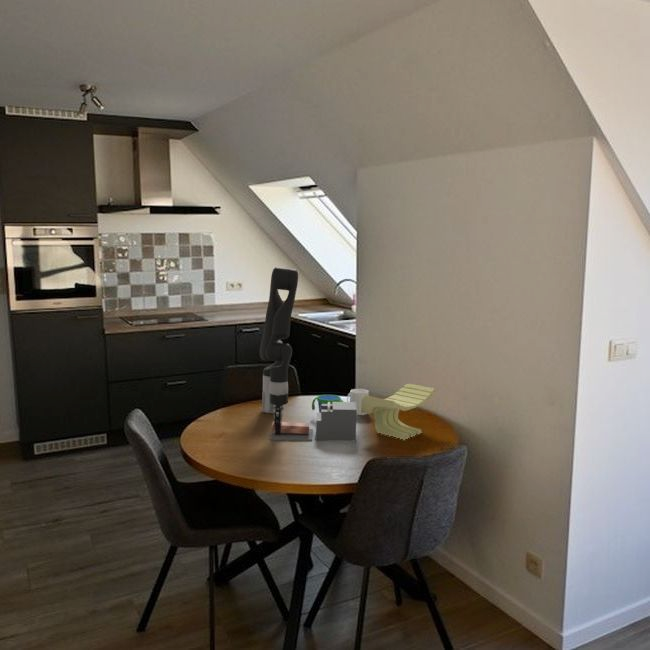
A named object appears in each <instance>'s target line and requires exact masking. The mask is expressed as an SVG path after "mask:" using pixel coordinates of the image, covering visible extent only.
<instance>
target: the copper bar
mask: <svg viewBox="0 0 650 650" xmlns="http://www.w3.org/2000/svg"><path fill="white" fill-rule="evenodd" d="M271 425H272V426H271V432H275V425H274V421H272V424H271ZM309 429H310V423H309V422H292V421H291V422H289V421H282V422H281V433H301V434H309Z"/></svg>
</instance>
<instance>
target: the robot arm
mask: <svg viewBox="0 0 650 650" xmlns="http://www.w3.org/2000/svg"><path fill="white" fill-rule="evenodd" d="M270 277H271V278H270V284H269V285H270V286H269V287H270V289H269V296H268V297H269V298H268V303H267V308H266V313H265V320H264V327H263V333H262V338H261V341H260V345H259V346H260V347H259V358H260V359H261V360H262V361H268V362H269V361H270V362H271V361H274V363H272V364H271V365H269V366H266V367H264V368H263V370H262V393H261V395H262V396H261V397H262V398H261V401H262V402H261V403H262V407H261V410H262V411H261V412H262V413H266V414H273V419H274V425H275V434H276V435H280V434H281V422H283V418H284V409H285V407H284V406H285V405H287V404H289V382H288V379H289V377H288V370H289V365H290V361H291V358H292V355H293V349H292V348H293V347H292V346H291V345H290V344H289V343H284V342H283V341H282V340H285V339H289V336H290V334H291V333H290V330H291V321H292V320H291V319H292V313H293V309H294V304H295V300H296V294H297V288H298V282H299V272H298V270H297V269H295V268H294V269H293V268H289V267H288V268H287V267H280V266H277V267H274V268H273V269H272V273H271V276H270ZM279 290H281V291H288V294H287V297H286V299H284V301H283V298H282V297H281V295H280V293H279Z"/></svg>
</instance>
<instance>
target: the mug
mask: <svg viewBox="0 0 650 650" xmlns="http://www.w3.org/2000/svg"><path fill="white" fill-rule="evenodd" d="M369 393H370V392H369V390H368V389H365V388H353V389H352V388H351V390H350V392H349V393H348V394H347V397H346V402H355V403H356V410H357V411H356V416H357V415H362V416H366V415H368V414H367V413H363V412H361V401H362V398H363V397H364V396H370V394H369ZM365 414H366V415H365Z"/></svg>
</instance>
